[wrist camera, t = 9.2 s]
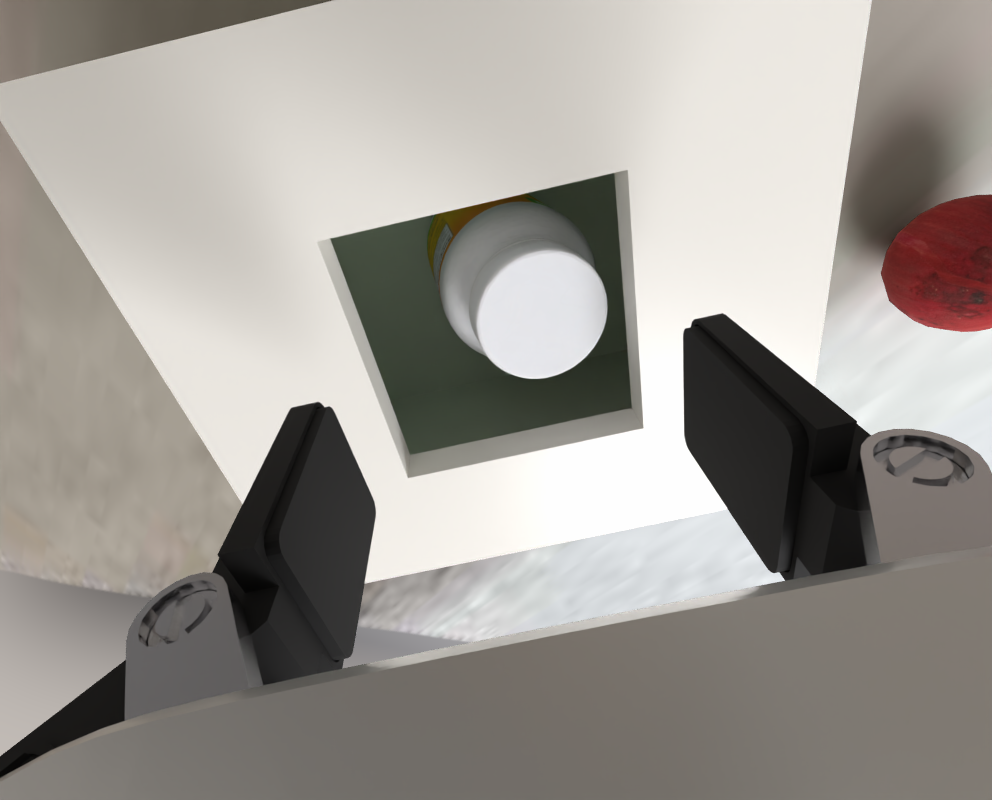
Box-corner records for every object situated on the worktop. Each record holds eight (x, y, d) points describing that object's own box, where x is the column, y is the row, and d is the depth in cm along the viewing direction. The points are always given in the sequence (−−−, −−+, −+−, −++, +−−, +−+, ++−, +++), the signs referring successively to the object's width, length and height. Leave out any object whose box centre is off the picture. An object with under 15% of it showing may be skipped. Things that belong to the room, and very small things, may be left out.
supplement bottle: (556, 190, 23) (657, 239, 14) (528, 307, 25) (601, 406, 17) (434, 165, 21) (469, 204, 13) (417, 291, 24) (437, 391, 15)
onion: (837, 308, 28) (963, 379, 21) (856, 197, 25) (1011, 238, 18) (945, 285, 27) (1109, 350, 21) (977, 171, 24) (1182, 203, 18)
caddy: (215, 88, 20) (-21, 88, 10) (662, -21, 20) (892, -140, 9) (353, 416, 29) (300, 596, 18) (670, 347, 28) (798, 494, 18)
